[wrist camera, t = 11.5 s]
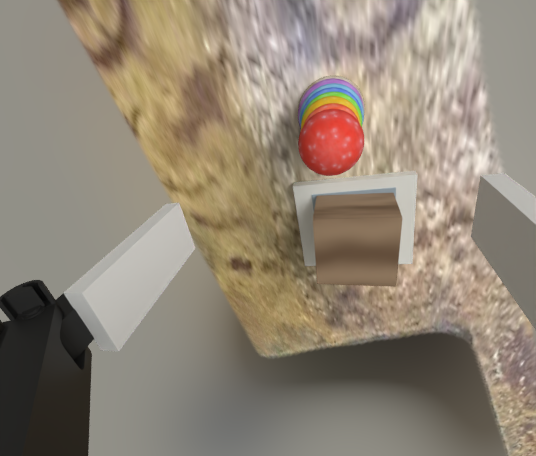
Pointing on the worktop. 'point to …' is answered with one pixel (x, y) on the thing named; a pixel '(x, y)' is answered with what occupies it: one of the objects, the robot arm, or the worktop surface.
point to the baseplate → (377, 183)
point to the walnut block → (357, 239)
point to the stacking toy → (331, 125)
